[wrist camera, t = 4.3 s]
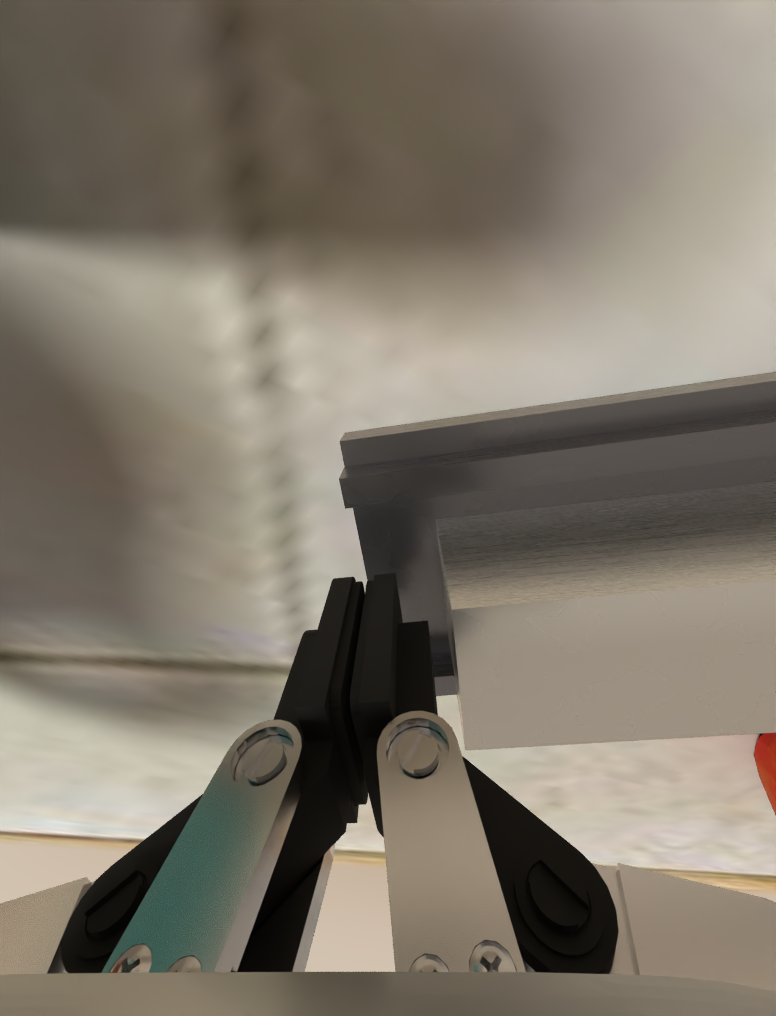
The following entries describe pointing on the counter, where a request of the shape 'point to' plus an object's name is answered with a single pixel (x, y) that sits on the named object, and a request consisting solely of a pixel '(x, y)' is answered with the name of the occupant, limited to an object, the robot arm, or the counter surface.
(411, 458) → the rail plate
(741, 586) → the white box
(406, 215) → the counter surface
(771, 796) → the apple
